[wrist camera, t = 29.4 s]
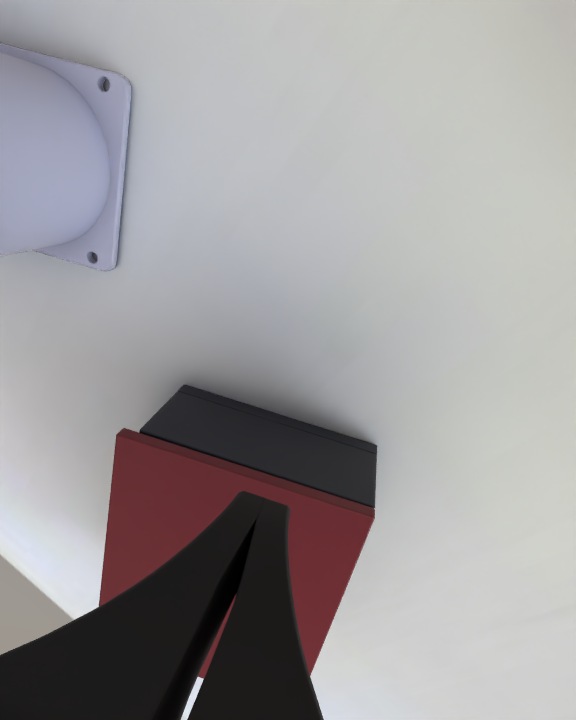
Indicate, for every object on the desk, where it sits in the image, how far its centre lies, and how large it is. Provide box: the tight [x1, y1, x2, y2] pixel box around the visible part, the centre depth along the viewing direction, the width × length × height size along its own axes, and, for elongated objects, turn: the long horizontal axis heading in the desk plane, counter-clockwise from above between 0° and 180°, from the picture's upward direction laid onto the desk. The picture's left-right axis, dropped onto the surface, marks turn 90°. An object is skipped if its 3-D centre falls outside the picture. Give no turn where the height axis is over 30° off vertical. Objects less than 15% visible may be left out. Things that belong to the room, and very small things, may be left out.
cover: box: [99, 428, 375, 678], centre depth 21 cm, size 11×13×1 cm
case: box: [139, 385, 377, 508], centre depth 23 cm, size 10×13×5 cm
